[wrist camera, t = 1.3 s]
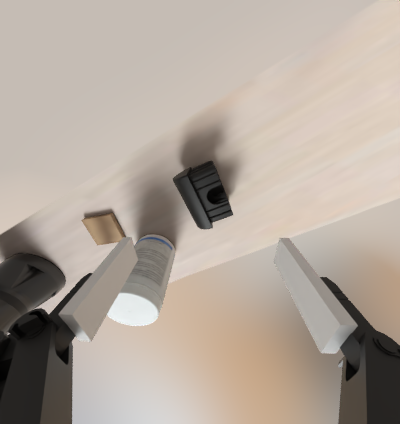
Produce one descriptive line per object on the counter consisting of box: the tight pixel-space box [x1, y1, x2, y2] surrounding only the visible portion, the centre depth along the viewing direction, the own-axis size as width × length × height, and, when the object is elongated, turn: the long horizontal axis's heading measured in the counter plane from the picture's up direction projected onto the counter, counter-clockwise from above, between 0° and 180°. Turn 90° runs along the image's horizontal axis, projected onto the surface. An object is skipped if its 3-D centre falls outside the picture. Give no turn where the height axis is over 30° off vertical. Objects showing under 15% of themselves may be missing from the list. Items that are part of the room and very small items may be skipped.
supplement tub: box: [107, 234, 175, 326], centre depth 30 cm, size 10×10×15 cm
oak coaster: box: [82, 213, 125, 245], centre depth 34 cm, size 7×7×1 cm
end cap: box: [173, 161, 233, 229], centre depth 27 cm, size 10×7×7 cm
